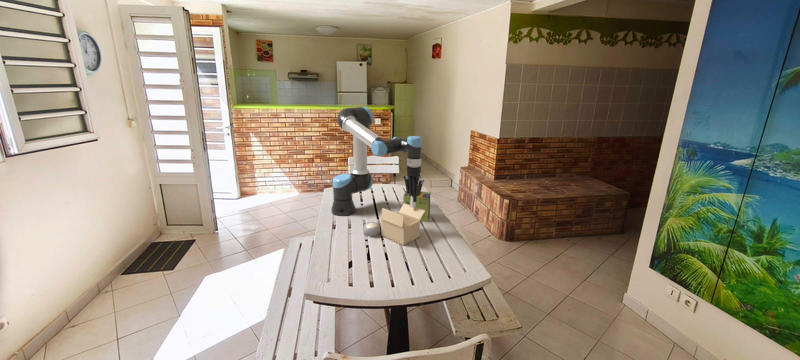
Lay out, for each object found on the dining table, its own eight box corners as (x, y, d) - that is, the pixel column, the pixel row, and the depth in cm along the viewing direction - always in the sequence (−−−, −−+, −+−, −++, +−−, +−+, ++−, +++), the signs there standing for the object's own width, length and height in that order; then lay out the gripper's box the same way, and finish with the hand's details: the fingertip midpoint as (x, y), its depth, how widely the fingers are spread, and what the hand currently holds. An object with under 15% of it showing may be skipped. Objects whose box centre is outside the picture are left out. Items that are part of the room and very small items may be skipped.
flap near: (381, 218, 183) (381, 218, 182) (382, 208, 182) (382, 208, 181) (402, 227, 173) (402, 227, 173) (404, 216, 172) (403, 216, 172)
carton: (380, 235, 186) (380, 218, 183) (396, 228, 196) (397, 211, 193) (404, 246, 176) (404, 228, 173) (420, 237, 185) (420, 220, 182)
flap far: (419, 219, 183) (420, 220, 183) (425, 210, 184) (425, 210, 185) (398, 212, 192) (399, 212, 193) (404, 203, 194) (404, 203, 194)
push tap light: (360, 233, 189) (360, 225, 187) (372, 228, 195) (372, 220, 194) (371, 238, 183) (371, 230, 181) (383, 233, 189) (383, 225, 188)
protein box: (428, 222, 204) (428, 197, 199) (402, 219, 207) (403, 195, 202) (430, 215, 214) (431, 191, 209) (405, 213, 217) (406, 190, 212)
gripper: (400, 164, 183) (399, 205, 190) (418, 169, 174) (417, 212, 182) (409, 162, 188) (408, 202, 195) (428, 166, 180) (426, 208, 187)
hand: (412, 206), depth 188 cm, fingers closed
